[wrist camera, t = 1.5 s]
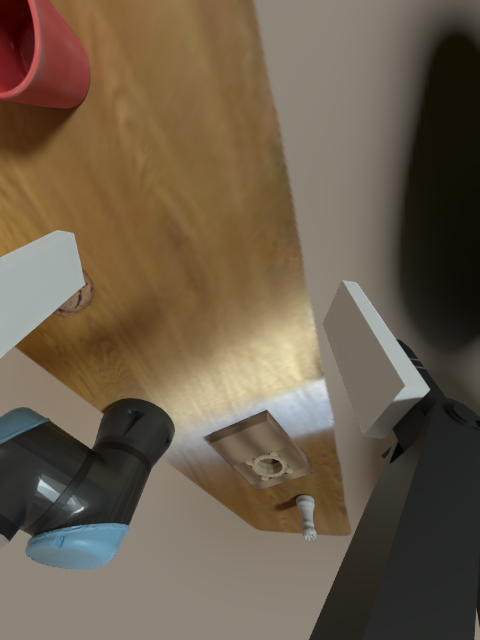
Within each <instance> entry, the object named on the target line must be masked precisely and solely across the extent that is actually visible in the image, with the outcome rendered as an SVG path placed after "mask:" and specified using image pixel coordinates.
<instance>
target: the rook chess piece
mask: <svg viewBox="0 0 480 640" xmlns="http://www.w3.org/2000/svg"><path fill="white" fill-rule="evenodd" d="M296 503H297V508H298V509H299V512H300V513H301V517H302V526H303V530H302V535H303V536H304V539H305V540H307V538H308V541H310V539H312V541H314V539H316V537H315V536H316V534H317V533H316V531H315V530H314V523H313V509H314V507H315V504H314V499H313V498H312V497H311V496H310V495H306V494H303V495H299V496H298V497H297V498H296Z"/></svg>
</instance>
